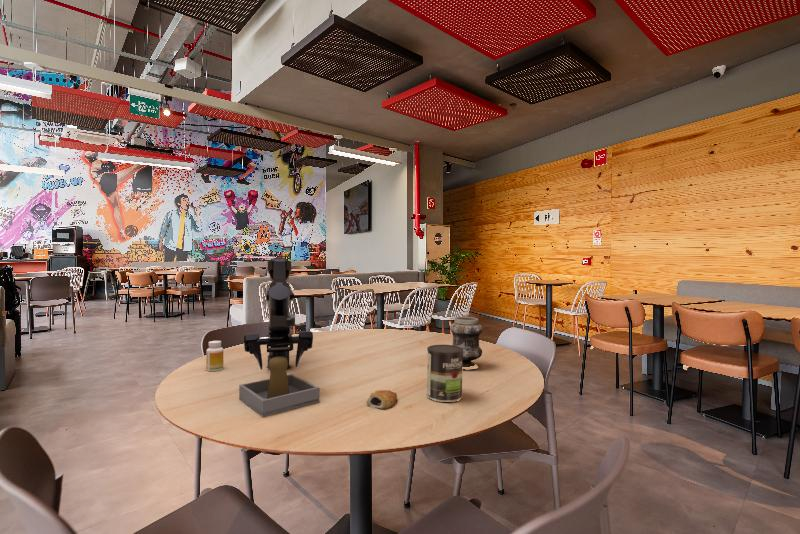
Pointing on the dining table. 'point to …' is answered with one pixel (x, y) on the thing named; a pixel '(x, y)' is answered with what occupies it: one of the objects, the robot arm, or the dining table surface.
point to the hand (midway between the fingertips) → (279, 367)
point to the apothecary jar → (467, 338)
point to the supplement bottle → (214, 356)
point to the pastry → (382, 399)
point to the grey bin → (298, 396)
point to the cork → (278, 377)
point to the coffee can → (444, 373)
